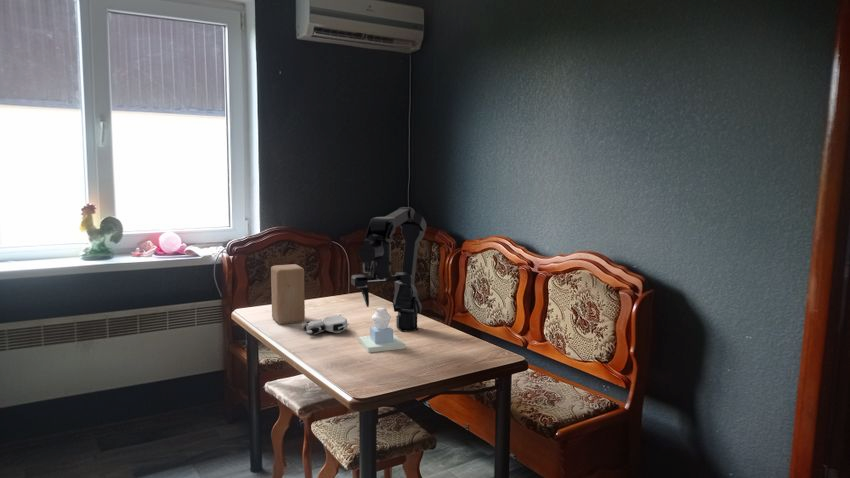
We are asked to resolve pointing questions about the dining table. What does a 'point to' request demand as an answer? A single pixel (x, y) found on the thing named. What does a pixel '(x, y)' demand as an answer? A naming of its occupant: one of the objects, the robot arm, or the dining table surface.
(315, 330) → the robot toy
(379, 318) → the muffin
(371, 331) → the brick
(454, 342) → the dining table surface
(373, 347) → the pale green square slab
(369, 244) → the robot arm
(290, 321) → the wooden block
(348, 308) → the dining table surface
